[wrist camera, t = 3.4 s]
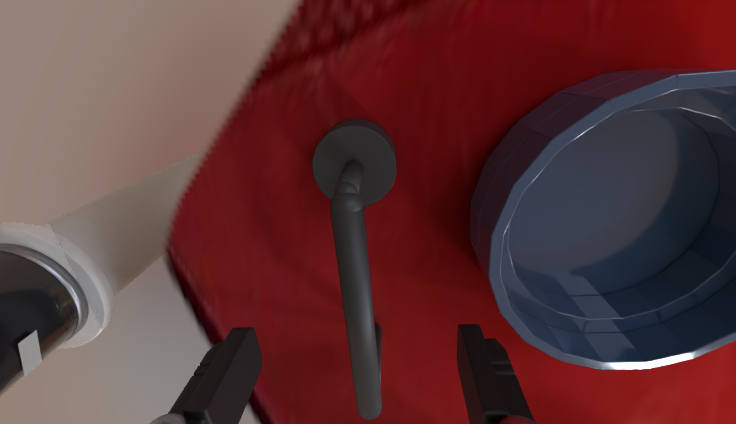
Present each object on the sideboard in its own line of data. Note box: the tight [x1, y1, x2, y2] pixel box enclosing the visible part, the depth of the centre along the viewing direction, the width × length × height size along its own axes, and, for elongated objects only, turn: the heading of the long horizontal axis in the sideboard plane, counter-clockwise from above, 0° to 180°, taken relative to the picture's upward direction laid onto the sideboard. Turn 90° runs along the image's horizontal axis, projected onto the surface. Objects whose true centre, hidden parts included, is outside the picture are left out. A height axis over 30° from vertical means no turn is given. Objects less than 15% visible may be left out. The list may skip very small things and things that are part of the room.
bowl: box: [469, 68, 736, 370], centre depth 18 cm, size 15×15×5 cm
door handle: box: [312, 119, 397, 420], centre depth 19 cm, size 15×4×7 cm, turn 5°
